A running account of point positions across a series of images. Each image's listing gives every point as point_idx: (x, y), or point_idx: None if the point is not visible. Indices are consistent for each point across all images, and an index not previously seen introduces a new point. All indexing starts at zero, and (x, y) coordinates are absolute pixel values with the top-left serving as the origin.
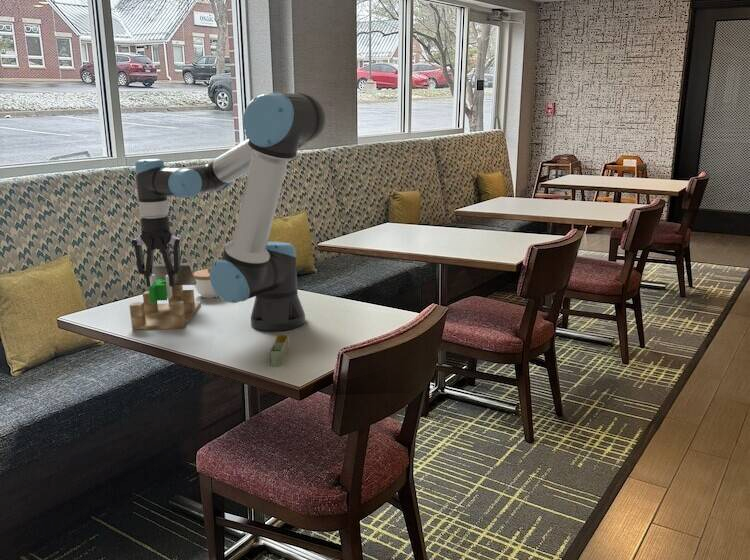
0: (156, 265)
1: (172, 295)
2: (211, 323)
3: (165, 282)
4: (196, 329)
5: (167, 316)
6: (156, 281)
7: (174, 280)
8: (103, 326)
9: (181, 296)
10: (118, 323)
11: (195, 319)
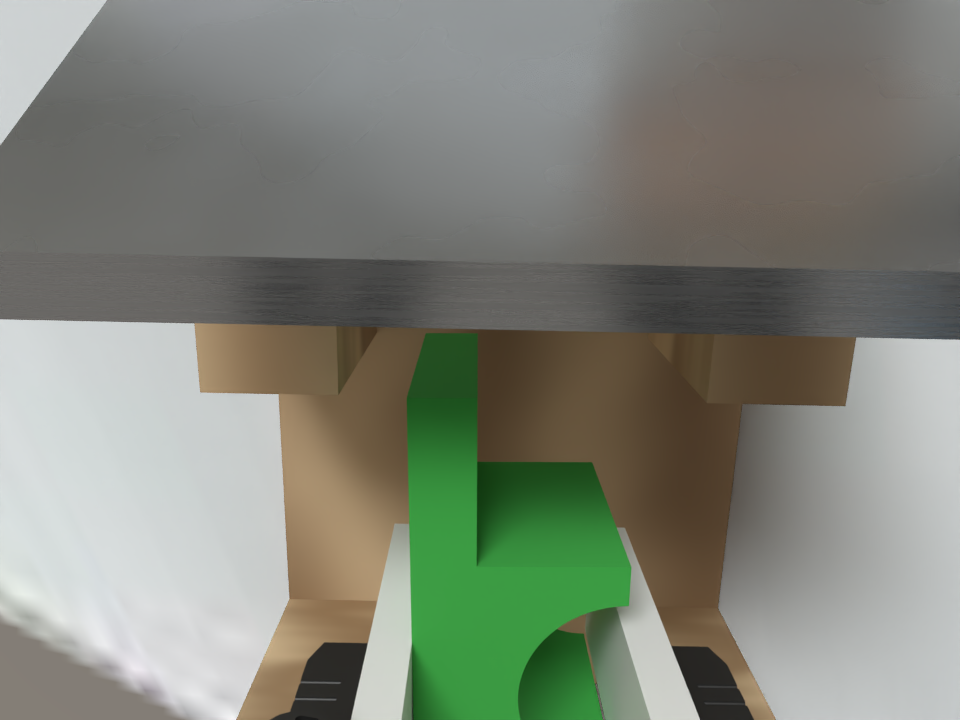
0: (264, 302)
1: (625, 537)
2: (918, 569)
3: (565, 609)
4: (806, 694)
5: (526, 449)
6: (419, 616)
7: (742, 709)
8: (20, 550)
9: (698, 389)
10: (112, 486)
11: (772, 450)
